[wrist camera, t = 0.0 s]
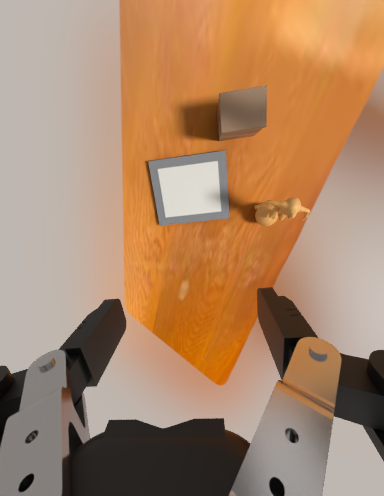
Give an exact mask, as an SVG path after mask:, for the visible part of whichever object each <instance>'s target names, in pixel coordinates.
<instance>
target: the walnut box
mask: <svg viewBox="0 0 384 496" xmlns="http://www.w3.org/2000/svg"><path fill="white" fill-rule="evenodd" d="M266 107H267V85H266V86H260V87H254V88H248V89H242V90H236V91H230V92H225V93H219V103H218V108H217V121H218V136H219V141H222V140H229V139H236V138H243V137H250V136H254V135H255V134H256V133H257V132H259V131H260V130H261V129H262V128H263V127H266Z"/></svg>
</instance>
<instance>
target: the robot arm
mask: <svg viewBox="0 0 384 496" xmlns="http://www.w3.org/2000/svg"><path fill="white" fill-rule="evenodd" d="M257 304H258V318H259V323H260V325H261V328H262V330H263V333H264V335H265V338H266V341H267V343H268V346H269V349H270V351H271V354H272V356H273V359H274V361H275V364H276V367H277V369H278V372H279V374H280V377H281V379H282V381H281V380H278V382H277V383H276V385H275V387H274V390H273V392H272V395H271V397H270V399H269V402H268V404H267V407H266V409H265V411H264V414H263V416H262V418H261V421H260V423H259V425H258V428H257V430H256V432H255V435H254V437H253V440H252V442H251V444H250V443H249V442H248V441H247V440H245V439H244V438H242V437H241V436H239V435H237V434H235V433H233V432H231V431H228V430H225V426H224V419H193V420H189V421H186V422H183V423H180V424H177V425H174V426H171V427H168V428H163V429H162V428H159V427H156V426H153V425H150V424H147V423H144V422H141V421H138V420H109V422H108V424H107V427H106V430H105V432H103V433H101V434H99V435H97V436H95V437H93V438H91V439H90V435H89V427H88V419H87V412H86V404H85V397H84V394H83V391H84V389H85V388H86V387H90V386H97V384H98V382H99V380H100V378H101V376H102V375H103V373H104V371H105V369H106V367H107V365H108V363H109V361H110V359H111V357H112V355H113V353H114V351H115V349H116V347H117V345H118V344H119V342H120V339H121V338H122V336H123V334H124V332H125V329H126V318H125V315H124V311H123V308H122V305H121V301H120V300H119V299H109V300H104V301H103V303H102V304H101V305H100V306H99V308H98V309H96V310H94V311H93V312H91V313H90V314H89V315H88V316H87V317H86V318H85V319H84V320H83V321H82V323H81V324H80V325H79V326H78V327H77V329H76V330H75V331H74V332H73V333H72V334H71V336H70V337H69V338H68V339H67V340H66V342H65V343H64V344H63V345H62V346H61V348H60V349H59V350H54V351H51V352H48V353H46V354H44V355H42V356H41V357H39V358H38V359H37V360H36V361H34V362H33V363H32V364H31V366H30V367H29V368H28V369H26V370H23V371H20V372H16V373H13V374H11V373H10V371H9V369H8V368H7V367H6V366H0V496H322V492H323V486H324V478H325V472H326V465H327V458H328V452H329V445H330V438H331V431H332V424H333V417H334V416H335V417H339V418H342V419H345V420H348V421H351V422H354V423H357V424H360V425H363V427H364V429H365V430H366V432H367V434H368V435H369V437H370V439H371V440H372V442H373V444H374V446H375V447H376V449H377V451H378V452H379V454H380V456H381V457H382V459H383V461H384V350H377V351H374V352H372V353H371V354H370V356H369V359H364V358H359V357H353V356H349V355H345V354H341V353H339V352H338V350H337V349H336V348H335V347H334V346H333V345H332V344H330V343H328V342H327V341H325V340H322V339H319V338H318V337H317V335H316V334H315V332H314V331H313V330H312V328H311V327H310V326H309V324H308V323H307V321H306V320H305V319H304V317H303V316H302V315H301V313H300V312H299V310H297V308H296V306H295V305H294V303H293V302H292V301H291V300H289V299H288V298H286V297H285V296H278V295H277V294H276V292H275V291H274V289H273V288H272V287H271V288H258V290H257Z"/></svg>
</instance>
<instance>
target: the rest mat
mask: <svg viewBox="0 0 384 496" xmlns="http://www.w3.org/2000/svg"><path fill="white" fill-rule="evenodd" d="M148 163H149V169H150V174H151V180H152V185H153V191H154V197H155V202H156V208H157V213H158V219H159V224H160V226H161V225H170V224H180V223H189V222H198V221H207V220H217V219H226V218H229V200H228V183H227V165H226V150H225V151H218V152H211V153H204V154H197V155H190V156H183V157H176V158H168V159H161V160H154V161H148Z"/></svg>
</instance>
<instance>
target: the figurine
mask: <svg viewBox="0 0 384 496" xmlns="http://www.w3.org/2000/svg"><path fill="white" fill-rule="evenodd" d="M269 204H272V205H276V206H272V205H269ZM278 206H280V207H278ZM258 207H259V208H258ZM254 208H255V210H256V209H257V211H256V213H255V219H256V221H257V222H258V223H259V224H260V225H263V226H269V225H272V224H273V223H274V222H275V221H276V220H277V218H278V217H279V219H280V220H283V219H284V218H285V217H286V216H288V218H289V219H291V218H294V217H295V216H296V213H297V212H300V211H302V212H306V213H305V218H304V219H306V218H307V217H308V214H309V213H310V210H309V209H307V208H304V207H303V206H301V204H300V201H299V199H297V198H289V199H287V200H286V201H284V202H279V201H272V200H268V201H266V202H264V203H261V204H259V205H255V206H254ZM304 219H302V220H304ZM302 220H301V221H302Z"/></svg>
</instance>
